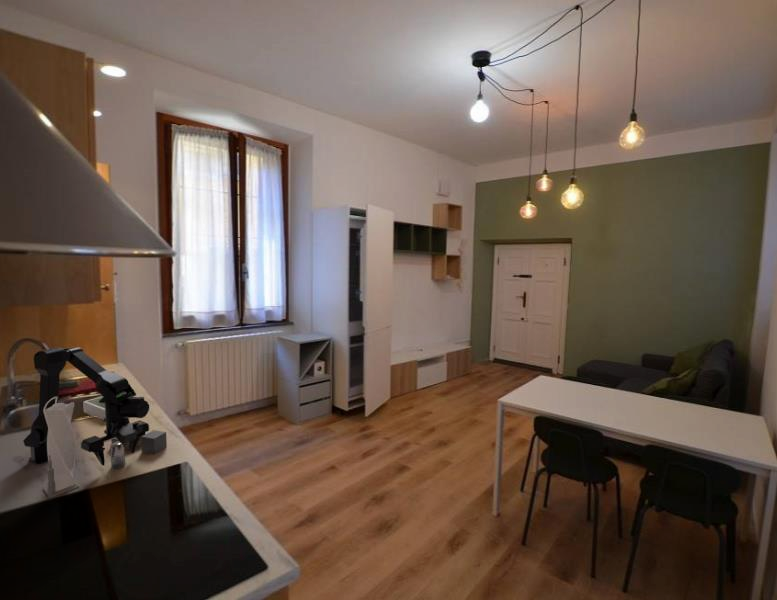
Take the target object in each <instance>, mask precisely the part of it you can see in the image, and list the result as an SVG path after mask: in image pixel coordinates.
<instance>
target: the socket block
mask: <svg viewBox="0 0 777 600" xmlns="http://www.w3.org/2000/svg"><path fill="white" fill-rule="evenodd" d="M145 434H146V433H145ZM145 434H144V435H145ZM144 435H142V436H144ZM142 436H141V437H142ZM141 437H140V438H139V440H138V442H137V445H136V448H139V447H142V441H141ZM110 441H111V444H112V443H114V442H118V441H119V440H118V439H117V438H115V439H113V440H110ZM127 452H130V447H129V441H128V442H126V443H125V453H127Z"/></svg>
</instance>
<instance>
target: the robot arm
mask: <svg viewBox="0 0 777 600" xmlns="http://www.w3.org/2000/svg"><path fill="white" fill-rule="evenodd" d="M67 362H68V363H69V364H70V365H72V366H73V367H74V368H76V369H77V370H78V371H79V372H80V373H81V374H83V375H85V376H86V377H87V378H88V379H89V380H91V381H92V383H94V385H95V390H96V391H97V392H98V393H99V394H100V396H101V397H102V396H103V398H102V399H101V400H100V401H99V403H105V407H104V408H105V416H106V418H104V420H103V422H104V423H105V429H104V430H103V432H104V434H105V435H104V436H101V437H99V436H97V435H92V436H90V437H87V438H84V439H83V440H82V441H81V443H80V448H81V449H82V450H84V451H86V452H88V453H93V454H94V455H95V457H96V458H97V460H98V462H99V463H100V465H101V466H105V461H106V460H105V454H104V453H105V449H106V448H105V447H104V446H105V443H107V442H110V441H111V440H113V439H115V438H117V439H118V440H119V442H120V443H126V442H128V441H129V447H130V450H129V452H130V454H134V453H135V451H136V448H137V447H136V445H137V442H138V440H139V438H140V437H141V436H142V435H144V434H147V433H148V432H149V431H150V425H149V423H147V422H145V421H143V420H137V421H134V422H130V419H129V418H136V419H144V418H145V417H146V416H147V415H148V413H149V411H150V404H149V402H148V401H147V400H145V396H138V397H137V393H136V391H135V390H134V389H133V387H132V386H131V384H130V383H129V381H128V379H127V378H126V377H124V376H122V375H121V374H119V373H116V372H111V371H108V370H107V369H105V368H104V367H103V366H102V365H100V364H99V363H98V362H97V361H96V360H95V359H93V358H92V357H91V356H89V355H88V354H87V353H85V352H84V350H83V348H81V347H78V346H77V347H76V346H75V347H68V348H63V347H60V346H56V347H52V348H47V349H44V350H39V351H37V352H36V353H34V355H33V364H34V365H33V366H34V369H35V370H36V371H37V373H39V375H40V376H39V377H40V379H39V402H38V415H37V417H36V418H35V420H33V423H32V425H31V429H30V433H29V434H28V435H27V436H26V437H25V438H24V439H23V444H24V446H25V447H28V448H30V456H29V458H28V461H30V462H32V463H34V464H36V465H39V464H42V463H45V462H48V454H47V435H48V425H47V422H46V419H45V415H44V412H43V409H44V407H45V405H46V403H47V402H48V401H49V400H50V399H52V398H53V397H58V398H57V403H59V392H60V376H61V375H60V374H61V372H62V371H63V369H64V368H65V366H66V365H67ZM120 394H123V395H121V396H119V397H116V396H118V395H120ZM55 400H56V398H54V399H52V400H51V401H50V402H49V403H48V404H47V406H46V409H48V408H50V407H51V406H53V405H54V404H55ZM46 409H45V410H46Z"/></svg>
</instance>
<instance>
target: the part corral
mask: <svg viewBox="0 0 777 600" xmlns="http://www.w3.org/2000/svg"><path fill="white" fill-rule="evenodd" d="M102 398H103V396H102V395H101V396H98V397H94V398H92V399H87V400H84V401H83V402H82V403H83V404H82V405H83V406H82V407H83V414H84V413H85V414H87V415H89V416H92V417H94V416H97V419H99V418H100V419H99V420H101V419H102V421H104V418H106V416H105V403H99V401H100V400H101V399H102Z"/></svg>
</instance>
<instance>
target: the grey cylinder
mask: <svg viewBox="0 0 777 600" xmlns="http://www.w3.org/2000/svg"><path fill="white" fill-rule="evenodd" d="M109 449H110V467H111V468H110V469H112V470H119V469H122V468H124V467H125V466H126V452H125V443H120V442H119V441H118V442H114V443H111V444H109Z"/></svg>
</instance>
